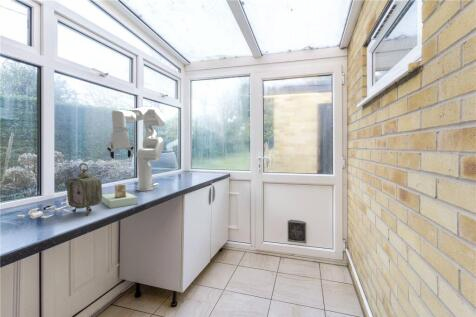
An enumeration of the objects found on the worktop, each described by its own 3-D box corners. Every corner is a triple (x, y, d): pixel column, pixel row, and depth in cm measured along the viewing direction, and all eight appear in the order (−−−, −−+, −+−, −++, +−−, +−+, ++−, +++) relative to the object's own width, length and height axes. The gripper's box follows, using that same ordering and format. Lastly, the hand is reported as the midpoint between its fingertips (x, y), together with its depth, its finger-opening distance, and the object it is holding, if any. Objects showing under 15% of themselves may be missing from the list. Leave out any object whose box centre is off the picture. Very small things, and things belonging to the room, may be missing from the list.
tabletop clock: (68, 213, 114) (65, 163, 112) (86, 208, 122) (85, 162, 120) (85, 217, 107) (83, 164, 106) (104, 212, 116) (102, 163, 114)
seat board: (126, 198, 146) (125, 191, 146) (137, 203, 132) (137, 197, 132) (101, 201, 137) (101, 195, 137) (110, 208, 122) (110, 201, 122)
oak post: (123, 202, 135) (123, 184, 135) (125, 203, 132) (125, 184, 131) (115, 203, 132) (114, 184, 132) (117, 205, 129) (117, 185, 128)
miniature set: (86, 200, 138) (102, 204, 135) (16, 222, 104) (35, 228, 101) (86, 190, 137) (102, 194, 134) (16, 209, 103) (35, 215, 100)
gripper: (131, 130, 151) (133, 156, 153) (102, 130, 139) (104, 158, 141) (136, 130, 146) (137, 157, 147) (105, 130, 133) (107, 159, 135)
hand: (121, 157), depth 144 cm, fingers open, 9 cm apart
